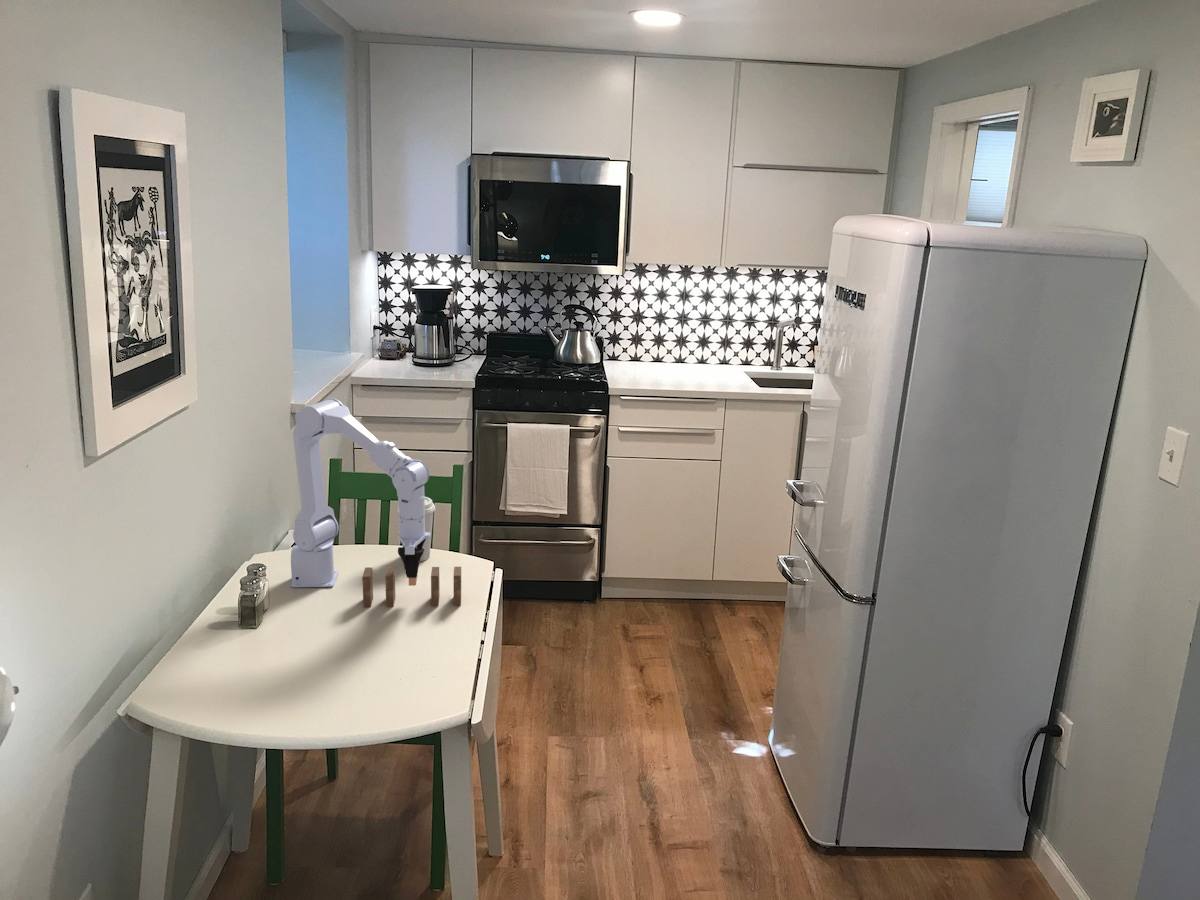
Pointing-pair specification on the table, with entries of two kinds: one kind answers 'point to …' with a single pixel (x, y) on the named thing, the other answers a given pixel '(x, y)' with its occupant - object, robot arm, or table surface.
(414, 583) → the domino
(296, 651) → the table surface
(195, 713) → the table surface
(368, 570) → the domino
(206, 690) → the table surface
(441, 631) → the table surface
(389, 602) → the domino
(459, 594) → the domino
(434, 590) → the domino
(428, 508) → the coffee cup
